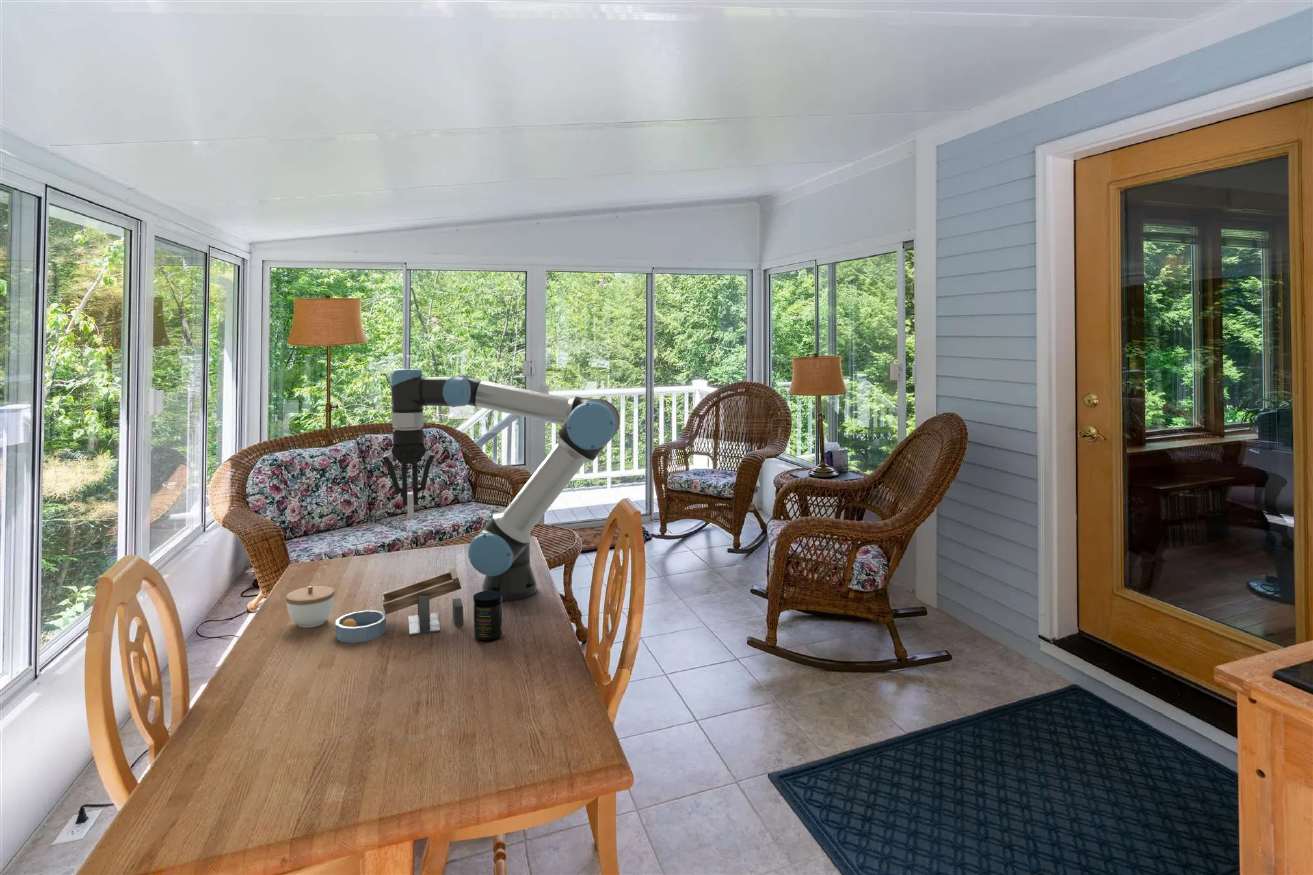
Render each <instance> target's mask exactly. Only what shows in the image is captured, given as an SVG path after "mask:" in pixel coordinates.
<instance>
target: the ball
mask: <svg viewBox="0 0 1313 875" xmlns="http://www.w3.org/2000/svg"><path fill="white" fill-rule="evenodd" d="M342 626H345V627H357V623H356V621H355V620H353V619H347V620H345V621H344V622H343V624H342Z"/></svg>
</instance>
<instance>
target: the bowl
mask: <svg viewBox="0 0 1313 875" xmlns="http://www.w3.org/2000/svg"><path fill="white" fill-rule="evenodd" d="M347 619H353V620H355V621H356V623H357V627H345V626H342V624H343V622H344V621H345V620H347ZM334 626H335V639H336V640H338V641H340V642H341V643H349V644H350V643H352V644H354V643H356V644H357V643H362V642H363V643H364V642H368V641H371V640H375V639H378V638H380V637H382V636H383V635H384V634H385V633H387V614H386V613H385V612H382V611H381V610H373V609H372V610H370V609H369V610H359V611H354V612H351V613H347V614H344V615H342V616H340V617H338V618H337V619H336V620H335V625H334Z"/></svg>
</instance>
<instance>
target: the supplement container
mask: <svg viewBox="0 0 1313 875" xmlns="http://www.w3.org/2000/svg"><path fill="white" fill-rule="evenodd" d="M472 598H473V599H472V604H473V637H474V639H475V641H477V642H479V643H492V642H495V641H498V640H500V639H501V638H502V637H503V631H504V629H503V627H504V626H503V601H502V593H501V592H498V591H482V590H481V591H478V592H476V593H474V594H473V595H472Z"/></svg>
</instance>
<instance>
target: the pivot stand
mask: <svg viewBox="0 0 1313 875" xmlns="http://www.w3.org/2000/svg"><path fill="white" fill-rule="evenodd" d="M430 606H431V605H430V600H429V595H420V596H419V603H418V604H417V614H413V615H408V616H407V618H408V631H409V637H413V636H421V635H430V634H431V635H432V634H437V633H441V626H440V622H439V616H438V612H430V611H431V610H430Z"/></svg>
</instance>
